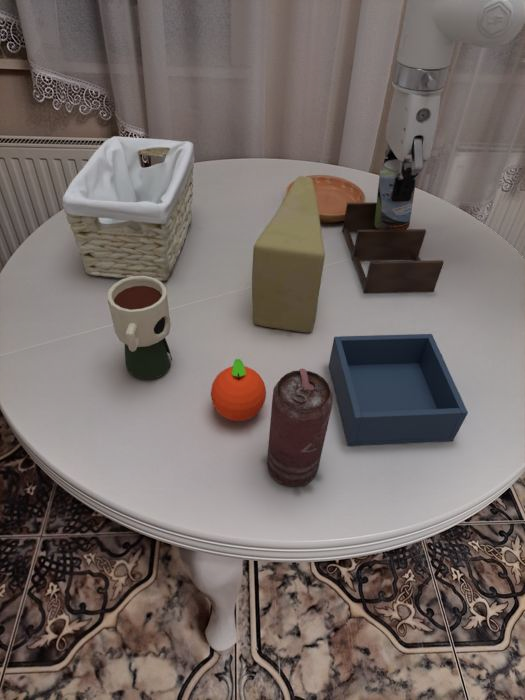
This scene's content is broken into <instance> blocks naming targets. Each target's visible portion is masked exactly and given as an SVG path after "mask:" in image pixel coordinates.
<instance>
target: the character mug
mask: <svg viewBox="0 0 525 700" xmlns="http://www.w3.org/2000/svg"><path fill="white" fill-rule="evenodd" d="M107 304H108V309H109V312H110V316H111V321H112V324H113V329H114V333H115V334H116V336H117V338H118V340H119V342H121V343H122V344H124V360H125V367H126V370H127V372H128V373H130V374H131V375H132V376H134V377H138V378H142V379H157V378H159V377H162V376H163V375H165V374H166V373H167V372H168V371H169V370H170V369H171V362H172V361H173V357H172V354H171V351H170V348H169V345H168V342H167V339H166V338H167V336H169V334H170V333H171V326H172V325H171V317H170V308H169V299H168V292H167V288H166V286H165V285H164V283H163V281H158V280H157V279H155V278H152V277H147V276H132V277H128V278H121V279H119V280H118V281H117V282H115V283H114V284H112V286H111V287H109V289H108V291H107ZM169 357H170V358H169ZM170 361H171V362H170Z"/></svg>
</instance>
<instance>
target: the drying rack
mask: <svg viewBox="0 0 525 700" xmlns="http://www.w3.org/2000/svg"><path fill="white" fill-rule="evenodd" d="M376 204H377V202H365V203H347V206H346V211H345V217H344V220H343V224H342V230H341V232H342V233H343V236H344V239H345V241H346V245H347V247H348V250H349V253H350V256H351V260H352V262H353V265H354V267H355V270H356V273H357V275H358V279H359V282H360V284H361V287H362V290H363V291H362V292H363V294H382V293H383V294H385V293H386V294H387V293H388V294H389V293H392V294H393V293H431V292H432V293H433V292H435V289H436V287H437V284H438V280H439V277H440V274H441V272H442V269H443V267H444V263H445V261H444V260H443V259H440V260H439V259H437V260H433V259H431V260H430V259H429V260H422V259H421V258H420V253H421V249H422V246H423V243H424V240H425V238H426V237H425V235H426V233H427V230H426V229H425V228H411V229H410V228H408V229H391V230H379V229H378V228H376V226H375V214H376ZM351 233H356V236H355V242H354V241H353V238H352V236H351ZM362 261H369V264H368V268H367V272H366V273H365V271H364V268H363V265H362Z"/></svg>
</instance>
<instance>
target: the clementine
mask: <svg viewBox="0 0 525 700" xmlns="http://www.w3.org/2000/svg"><path fill="white" fill-rule="evenodd" d="M262 378H263V377H261V376H260V374H259V373H258V372H257V371H256V370H255V369H252V368H250V367H248V366H245V365H244V363H243V361H242V360H241V358H235V359H234V361H233V364H232V366H229V367H227V368H224V369H223V370H222V371H220V372H219V373H218V374H217V375H216V377H215V378H214V380H213V382H212V384H211V389H210V397H211V399H210V400H211V403H212V405H213V407H214V409H215V410H216V411H217V412H218V414H219V415H220V416H222V417H224V418H225V419H227V420H230V421H233V422H235V421H236V422H241V421H247V420H250V419H252V418H253V417H255V416H256V415H257V414H258V413H259V412H260V411H261V410H262V408H263V407H264V404H265V402H266V397H267V388H266V385H265V382H264V380H263V379H262Z"/></svg>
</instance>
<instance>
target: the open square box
mask: <svg viewBox="0 0 525 700" xmlns="http://www.w3.org/2000/svg"><path fill="white" fill-rule="evenodd" d="M328 368H329V373H330V378H331V382H332V386H333V391H334V394H335V400H336V403H337V407H338V411H339V415H340V416H339V417H340V420H341V424H342V428H343V432H344V438H345V441H346V445H347V447H355V446H356V447H357V446H374V445H376V446H377V445H397V444H398V445H399V444H419V443H421V444H422V443H441V442H442V443H443V442H454V441H455V439H456V437H457V434H458V433H459V431H460V429H461V428H462V425H463V423H464V422H465V419H466V418H467V416H468V414H469V411H468V410H467V408H466V405H465V403H464V401H463V398H462V397H461V394H460V392H459V390H458V388H457V386H456V383H455V381H454V379H453V376H452V375H451V373H450V371H449V368H448V366H447V364H446V361H445V359H444V357H443V355H442V353H441V351H440V349H439V346H438V344H437V342H436V339H435V338H434V335H433V333H413V334H412V333H411V334H410V333H409V334H379V335H377V334H375V335H343V336H342V335H341V336H333V342H332V346H331V352H330V357H329V362H328Z"/></svg>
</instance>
